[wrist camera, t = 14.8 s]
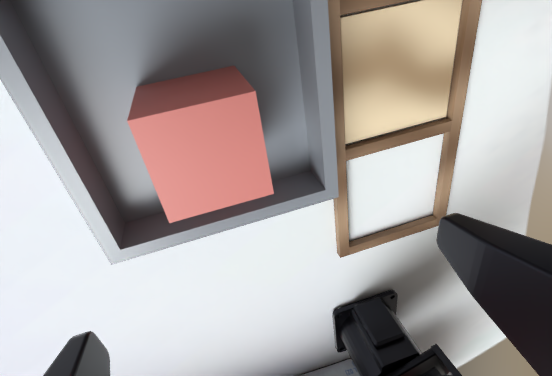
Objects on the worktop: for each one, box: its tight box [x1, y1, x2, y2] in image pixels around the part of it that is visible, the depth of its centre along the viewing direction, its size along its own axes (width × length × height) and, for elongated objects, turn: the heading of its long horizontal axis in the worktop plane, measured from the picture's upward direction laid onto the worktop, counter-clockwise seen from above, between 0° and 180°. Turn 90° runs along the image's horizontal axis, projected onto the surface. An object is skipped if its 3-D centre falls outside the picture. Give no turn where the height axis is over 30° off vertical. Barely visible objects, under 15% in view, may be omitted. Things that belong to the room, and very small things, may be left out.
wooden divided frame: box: [328, 0, 482, 258], centre depth 21 cm, size 27×10×1 cm, turn 8°
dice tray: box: [0, 0, 339, 265], centre depth 17 cm, size 14×14×3 cm
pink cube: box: [127, 66, 274, 223], centre depth 16 cm, size 5×5×5 cm
